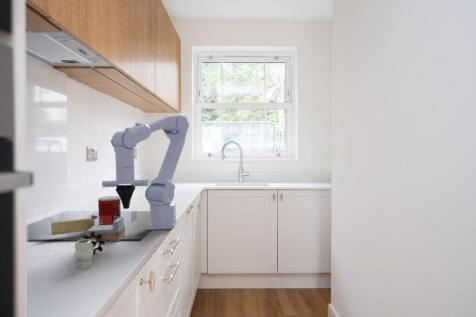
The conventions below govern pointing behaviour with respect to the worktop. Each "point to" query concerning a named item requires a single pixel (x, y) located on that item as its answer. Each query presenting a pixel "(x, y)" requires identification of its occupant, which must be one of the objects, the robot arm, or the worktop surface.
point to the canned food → (109, 209)
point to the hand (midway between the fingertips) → (126, 208)
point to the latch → (72, 225)
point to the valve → (87, 250)
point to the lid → (108, 227)
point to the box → (109, 236)
